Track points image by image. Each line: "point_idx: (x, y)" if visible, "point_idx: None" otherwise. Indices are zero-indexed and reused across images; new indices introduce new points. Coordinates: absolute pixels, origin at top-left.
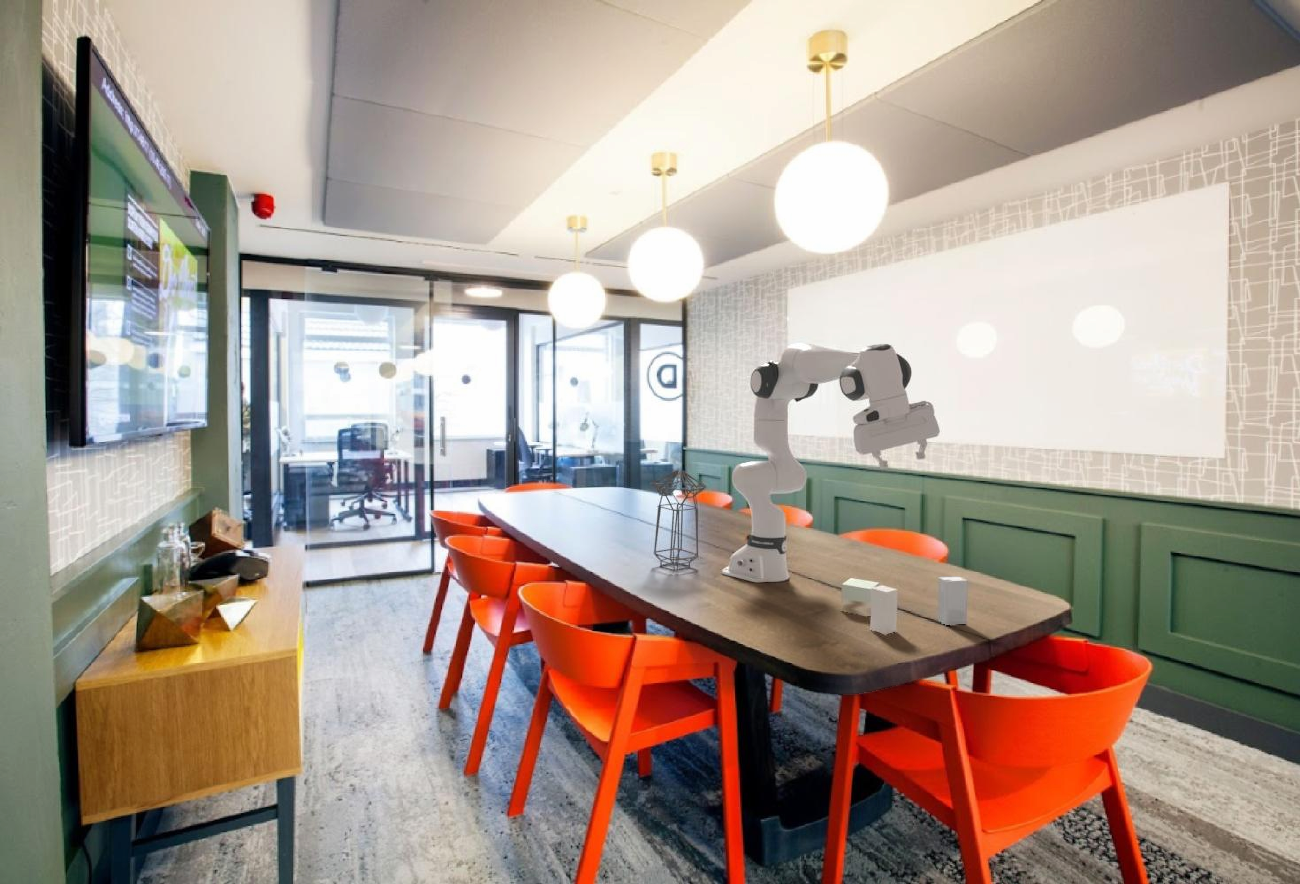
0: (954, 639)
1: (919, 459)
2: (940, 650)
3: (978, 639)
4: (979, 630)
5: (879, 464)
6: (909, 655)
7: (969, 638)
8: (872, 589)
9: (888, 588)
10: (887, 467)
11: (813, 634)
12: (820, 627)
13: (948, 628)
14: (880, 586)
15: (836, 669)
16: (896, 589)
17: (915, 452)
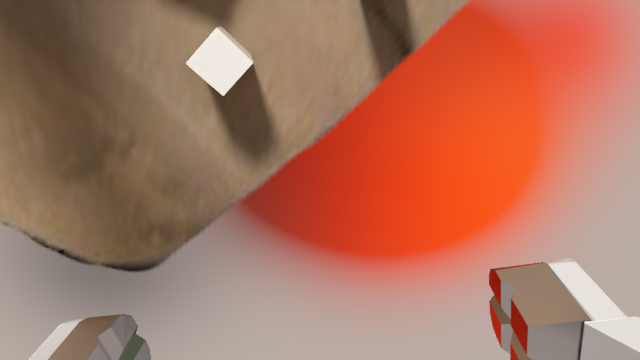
0: (351, 71)
1: (490, 314)
2: (312, 133)
3: (393, 61)
4: (415, 5)
5: (40, 355)
6: (256, 169)
7: (379, 59)
8: (188, 65)
9: (230, 58)
10: (142, 356)
11: (77, 108)
12: (86, 59)
13: (359, 5)
14: (211, 41)
15: (139, 251)
16: (250, 63)
17: (527, 328)
